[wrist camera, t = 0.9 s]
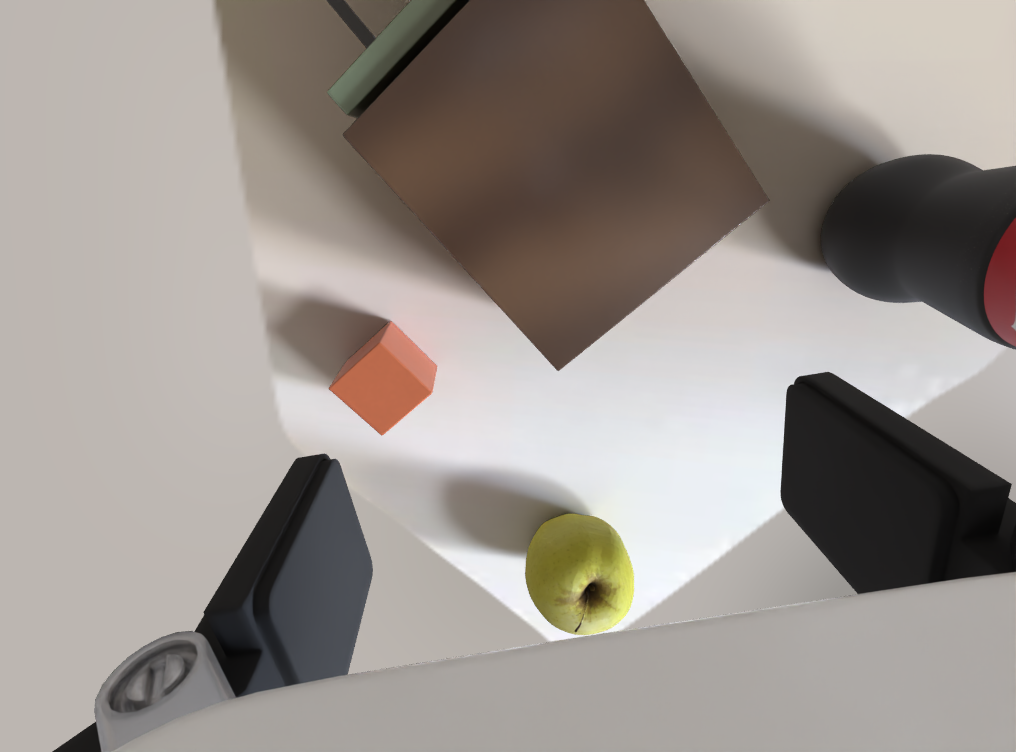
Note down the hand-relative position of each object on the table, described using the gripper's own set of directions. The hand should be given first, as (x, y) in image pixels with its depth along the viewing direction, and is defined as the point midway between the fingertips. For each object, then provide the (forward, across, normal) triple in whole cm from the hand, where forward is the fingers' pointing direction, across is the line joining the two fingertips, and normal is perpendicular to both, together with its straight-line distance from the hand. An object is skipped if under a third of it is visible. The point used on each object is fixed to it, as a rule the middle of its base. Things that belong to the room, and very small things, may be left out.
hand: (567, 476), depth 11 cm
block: (+25, +9, +6) cm, 27 cm away
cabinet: (+25, -3, -5) cm, 26 cm away
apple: (+25, -2, +23) cm, 34 cm away
